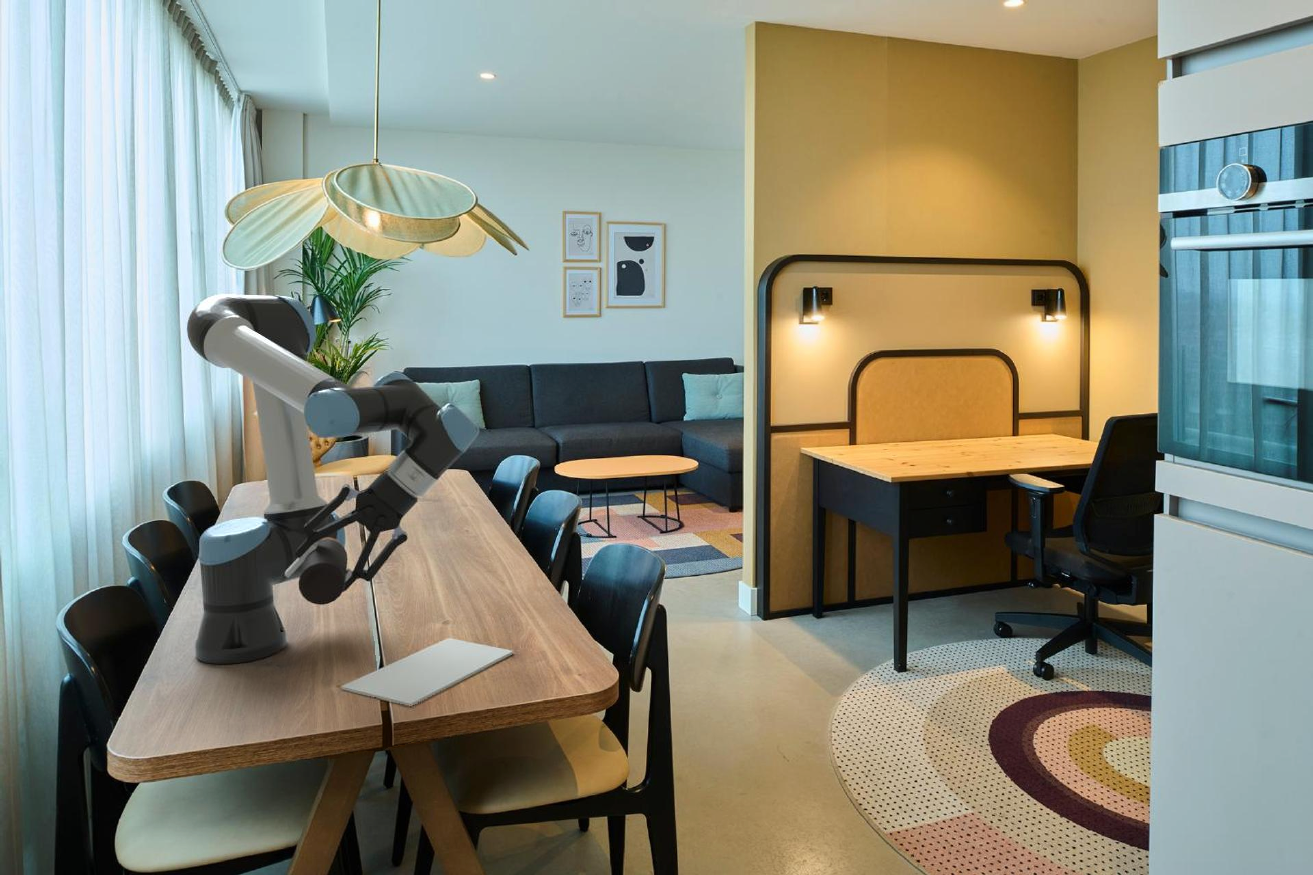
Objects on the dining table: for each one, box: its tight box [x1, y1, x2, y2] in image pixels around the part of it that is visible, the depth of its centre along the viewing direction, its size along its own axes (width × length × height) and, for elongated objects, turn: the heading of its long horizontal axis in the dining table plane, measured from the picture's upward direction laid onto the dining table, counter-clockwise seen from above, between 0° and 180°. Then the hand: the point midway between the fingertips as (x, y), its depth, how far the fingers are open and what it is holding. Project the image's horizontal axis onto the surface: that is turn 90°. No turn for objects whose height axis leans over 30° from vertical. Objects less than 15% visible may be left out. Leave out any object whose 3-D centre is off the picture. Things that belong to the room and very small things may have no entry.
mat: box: [340, 637, 514, 707], centre depth 158 cm, size 15×26×1 cm, turn 152°
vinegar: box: [298, 537, 348, 606], centre depth 151 cm, size 7×7×20 cm
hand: (305, 587), depth 151 cm, fingers closed on vinegar, 6 cm apart
